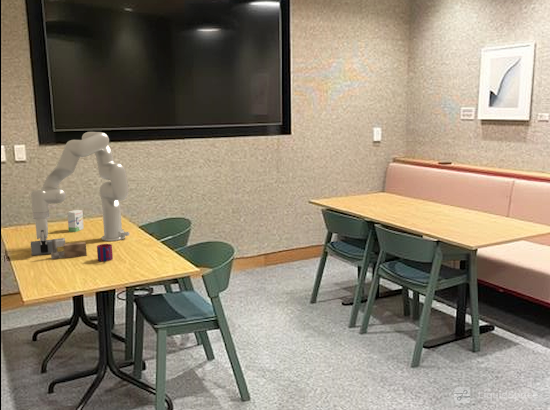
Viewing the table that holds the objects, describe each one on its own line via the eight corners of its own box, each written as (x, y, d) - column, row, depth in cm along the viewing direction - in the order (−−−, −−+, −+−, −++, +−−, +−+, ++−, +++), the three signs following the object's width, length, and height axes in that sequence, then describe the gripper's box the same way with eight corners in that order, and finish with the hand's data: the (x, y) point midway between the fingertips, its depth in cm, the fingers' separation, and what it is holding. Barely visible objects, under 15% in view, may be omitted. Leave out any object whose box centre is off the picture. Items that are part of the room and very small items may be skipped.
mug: (111, 257, 251) (110, 243, 250) (114, 262, 242) (113, 247, 241) (97, 258, 248) (96, 244, 247) (99, 264, 239) (98, 249, 238)
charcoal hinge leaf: (31, 255, 254) (30, 243, 253) (32, 253, 259) (30, 241, 258) (66, 252, 260) (65, 240, 259) (65, 249, 265) (64, 237, 264)
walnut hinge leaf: (86, 253, 258) (84, 235, 256) (86, 255, 254) (85, 237, 252) (51, 257, 251) (49, 239, 250) (51, 259, 248) (49, 240, 246)
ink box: (76, 228, 316) (75, 209, 314) (84, 229, 315) (82, 209, 313) (68, 231, 308) (66, 212, 306) (76, 232, 306) (74, 212, 304)
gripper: (33, 213, 262) (36, 248, 265) (32, 218, 247) (35, 256, 250) (49, 211, 265) (52, 246, 268) (49, 217, 250) (52, 254, 253)
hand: (44, 251), depth 259 cm, fingers closed on charcoal hinge leaf, 4 cm apart
